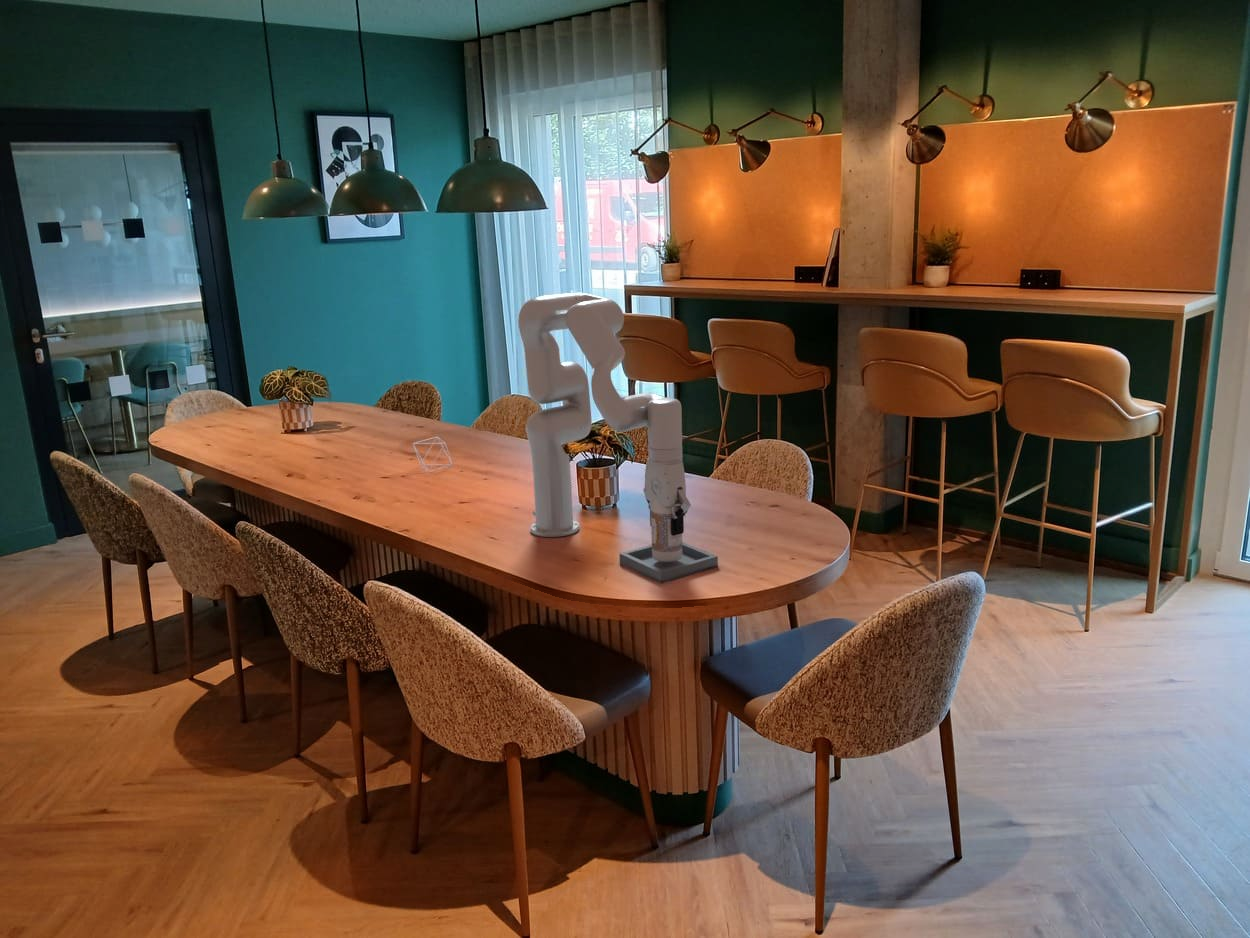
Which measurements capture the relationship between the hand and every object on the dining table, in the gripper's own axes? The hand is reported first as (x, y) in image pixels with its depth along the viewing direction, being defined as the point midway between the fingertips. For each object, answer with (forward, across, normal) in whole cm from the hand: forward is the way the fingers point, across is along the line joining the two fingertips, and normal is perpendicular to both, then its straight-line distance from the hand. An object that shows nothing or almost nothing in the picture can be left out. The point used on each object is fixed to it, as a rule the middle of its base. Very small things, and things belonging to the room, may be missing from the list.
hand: (666, 529), depth 216 cm
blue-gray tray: (+9, 0, 0) cm, 9 cm away
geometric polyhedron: (+10, -121, -4) cm, 122 cm away
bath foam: (+7, 0, 0) cm, 7 cm away
